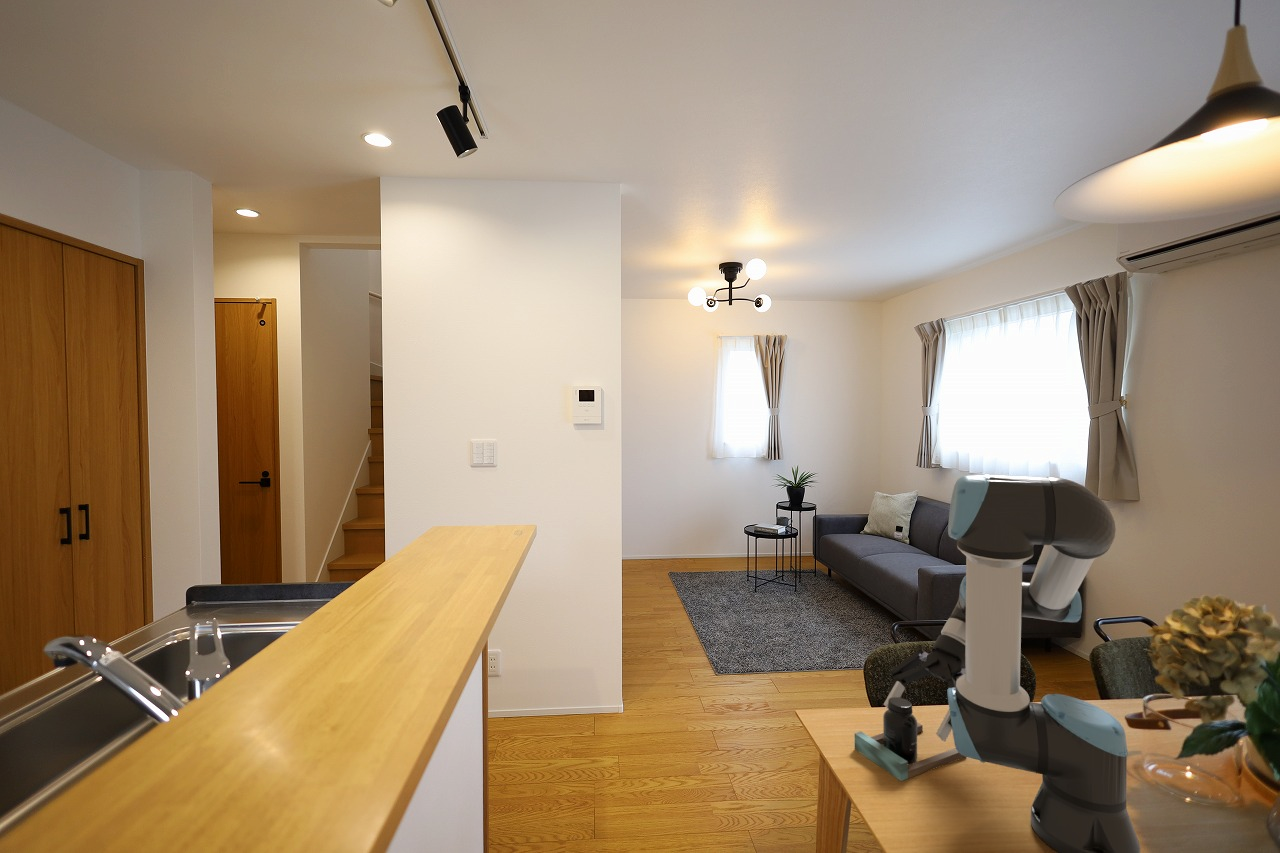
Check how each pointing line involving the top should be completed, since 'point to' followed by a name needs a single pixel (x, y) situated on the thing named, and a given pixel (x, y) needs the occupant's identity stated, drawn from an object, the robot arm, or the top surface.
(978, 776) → the top surface
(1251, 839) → the top surface
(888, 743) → the supplement bottle
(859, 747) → the channel
